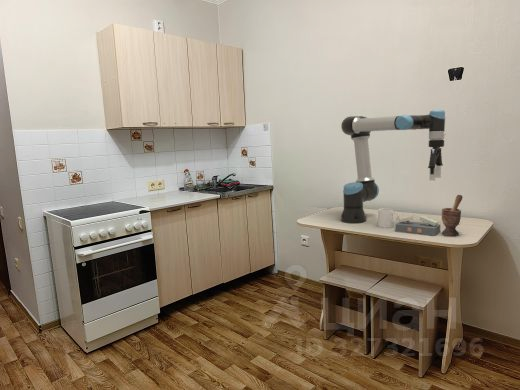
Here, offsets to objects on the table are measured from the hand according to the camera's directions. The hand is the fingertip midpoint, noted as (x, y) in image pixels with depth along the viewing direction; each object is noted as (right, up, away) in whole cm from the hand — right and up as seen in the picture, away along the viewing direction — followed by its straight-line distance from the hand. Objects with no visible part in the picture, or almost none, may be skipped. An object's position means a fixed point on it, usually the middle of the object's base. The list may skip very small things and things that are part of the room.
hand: (435, 179), depth 199 cm
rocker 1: (-16, -22, -1) cm, 27 cm away
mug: (-22, -27, +10) cm, 36 cm away
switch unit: (-11, -28, -4) cm, 31 cm away
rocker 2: (-7, -22, -8) cm, 25 cm away
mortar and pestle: (+3, -29, -11) cm, 31 cm away
